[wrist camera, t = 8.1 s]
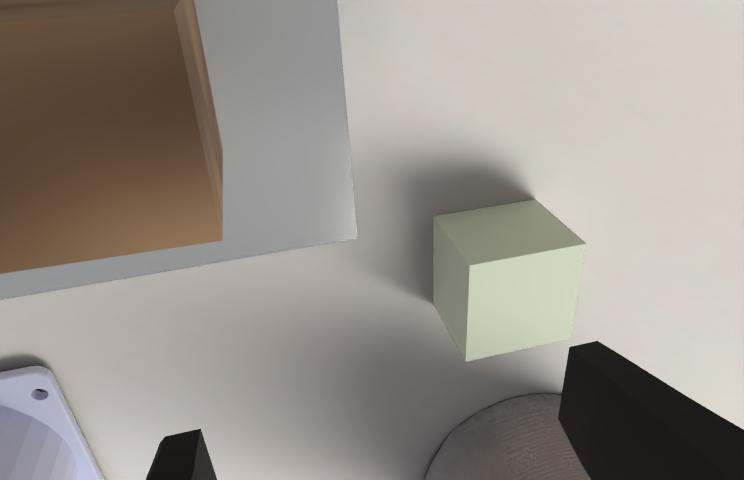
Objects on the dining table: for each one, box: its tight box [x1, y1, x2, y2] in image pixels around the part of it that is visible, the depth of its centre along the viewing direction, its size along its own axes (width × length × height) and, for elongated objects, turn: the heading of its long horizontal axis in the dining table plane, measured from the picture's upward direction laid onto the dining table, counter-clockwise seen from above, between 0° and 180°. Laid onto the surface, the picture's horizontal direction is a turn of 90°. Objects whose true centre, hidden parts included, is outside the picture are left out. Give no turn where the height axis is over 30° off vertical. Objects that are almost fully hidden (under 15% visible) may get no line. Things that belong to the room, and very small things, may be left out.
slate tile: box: [0, 0, 357, 300], centre depth 15 cm, size 12×12×1 cm
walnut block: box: [0, 0, 223, 274], centre depth 12 cm, size 4×4×6 cm
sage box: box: [433, 199, 586, 362], centre depth 20 cm, size 4×4×4 cm
